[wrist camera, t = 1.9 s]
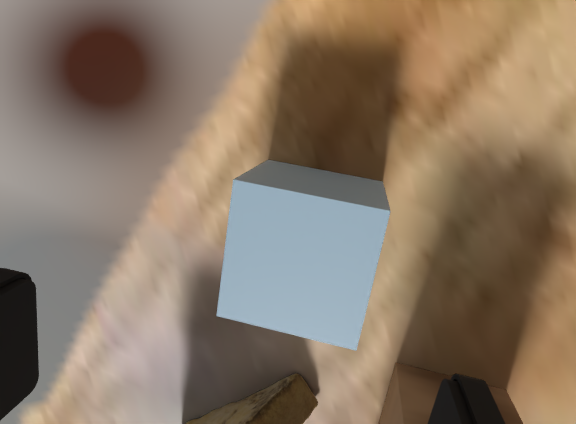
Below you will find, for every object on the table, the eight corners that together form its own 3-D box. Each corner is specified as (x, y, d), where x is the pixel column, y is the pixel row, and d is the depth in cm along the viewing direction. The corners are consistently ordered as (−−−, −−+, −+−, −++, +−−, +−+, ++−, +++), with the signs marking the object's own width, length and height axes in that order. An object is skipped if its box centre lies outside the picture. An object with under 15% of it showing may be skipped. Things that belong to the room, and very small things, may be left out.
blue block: (382, 181, 20) (390, 210, 14) (358, 286, 22) (356, 350, 16) (268, 159, 21) (233, 179, 15) (253, 263, 23) (216, 315, 17)
